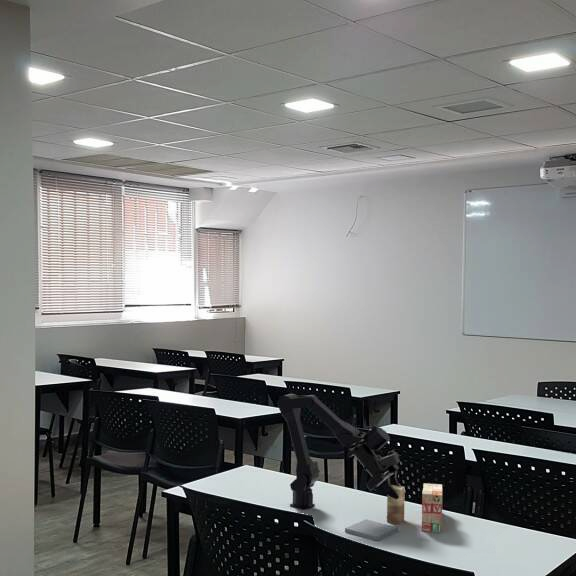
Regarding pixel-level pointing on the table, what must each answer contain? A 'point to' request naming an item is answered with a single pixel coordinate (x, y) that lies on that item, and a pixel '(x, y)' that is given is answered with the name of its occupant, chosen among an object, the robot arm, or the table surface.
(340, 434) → the robot arm
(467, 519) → the table surface
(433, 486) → the stack of blocks
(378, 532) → the plate
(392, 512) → the tower
